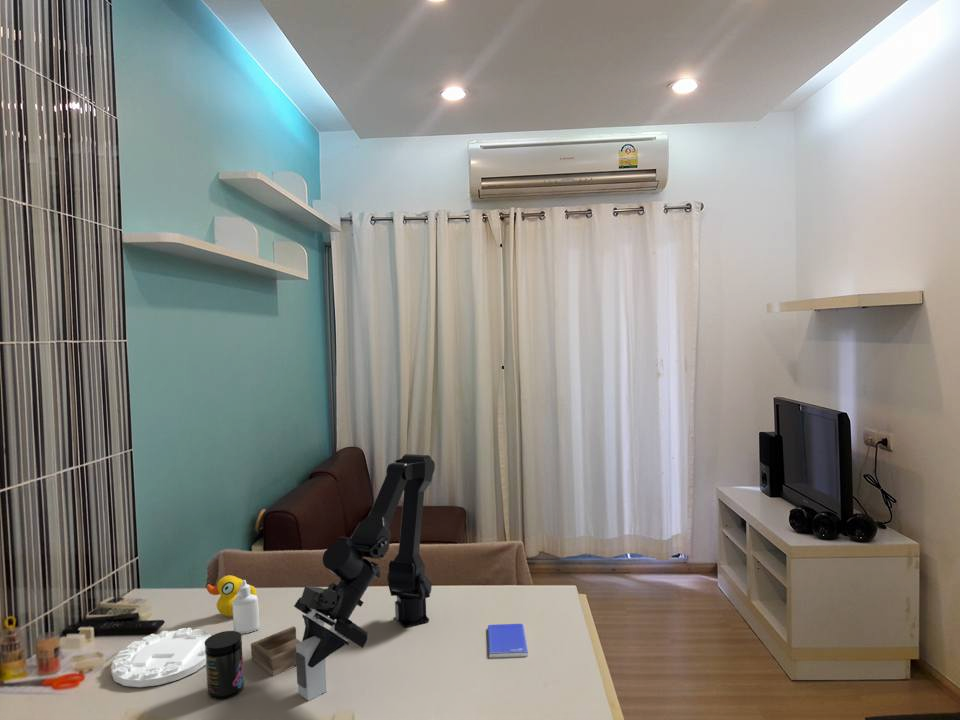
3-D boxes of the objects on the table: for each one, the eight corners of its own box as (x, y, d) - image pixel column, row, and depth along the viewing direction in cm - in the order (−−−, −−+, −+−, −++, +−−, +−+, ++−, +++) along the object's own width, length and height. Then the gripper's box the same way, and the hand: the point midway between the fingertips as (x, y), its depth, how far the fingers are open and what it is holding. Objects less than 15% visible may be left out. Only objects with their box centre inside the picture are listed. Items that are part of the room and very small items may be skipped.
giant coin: (162, 699, 122) (161, 684, 121) (89, 680, 128) (88, 667, 128) (235, 647, 140) (234, 634, 140) (168, 633, 147) (167, 621, 147)
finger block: (316, 684, 124) (314, 635, 123) (326, 691, 121) (324, 641, 121) (296, 694, 121) (294, 644, 120) (306, 702, 118) (303, 650, 118)
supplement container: (231, 702, 119) (228, 649, 118) (199, 699, 120) (196, 647, 119) (251, 682, 125) (248, 631, 125) (220, 679, 127) (217, 629, 126)
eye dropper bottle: (252, 635, 144) (249, 585, 144) (230, 634, 145) (227, 583, 145) (262, 626, 149) (260, 577, 148) (241, 625, 150) (238, 576, 149)
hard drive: (527, 651, 132) (523, 623, 144) (489, 652, 132) (487, 624, 144) (528, 658, 132) (523, 629, 144) (489, 659, 132) (487, 631, 144)
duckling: (208, 625, 150) (206, 584, 150) (208, 615, 155) (206, 576, 155) (258, 614, 155) (256, 575, 154) (256, 605, 160) (254, 567, 159)
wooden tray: (294, 641, 141) (293, 626, 141) (316, 656, 134) (315, 640, 134) (251, 659, 134) (250, 643, 134) (273, 676, 127) (272, 659, 127)
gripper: (300, 557, 129) (251, 629, 122) (352, 581, 116) (301, 664, 109) (335, 582, 135) (290, 652, 128) (387, 608, 122) (342, 687, 115)
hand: (304, 662), depth 120 cm, fingers closed on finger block, 3 cm apart
